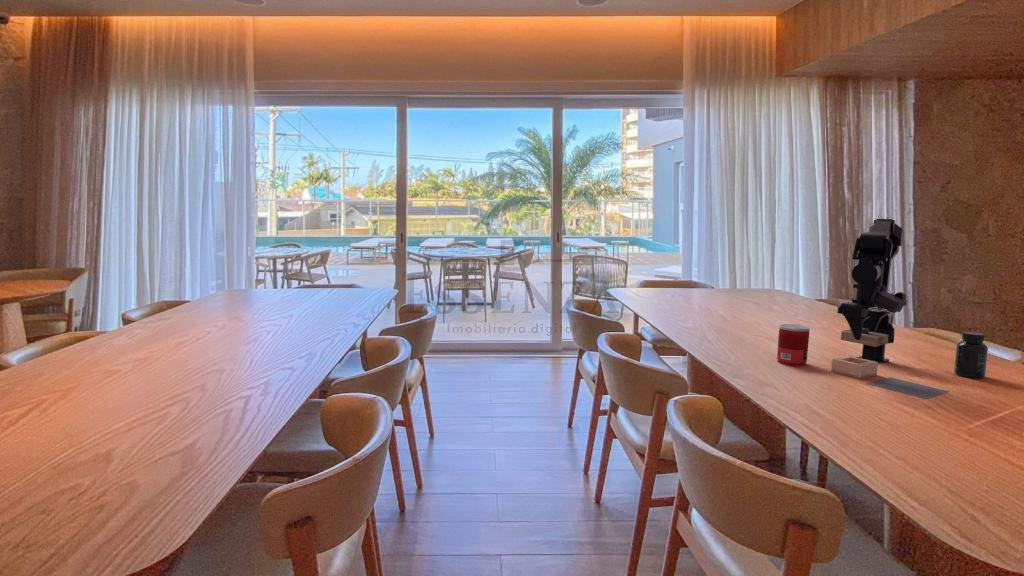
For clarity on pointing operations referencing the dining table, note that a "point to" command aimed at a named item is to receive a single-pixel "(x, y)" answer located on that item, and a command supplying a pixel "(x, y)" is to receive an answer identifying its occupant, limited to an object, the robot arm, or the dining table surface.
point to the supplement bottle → (971, 356)
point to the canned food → (793, 344)
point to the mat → (908, 388)
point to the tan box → (854, 367)
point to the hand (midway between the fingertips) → (864, 338)
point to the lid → (866, 337)
